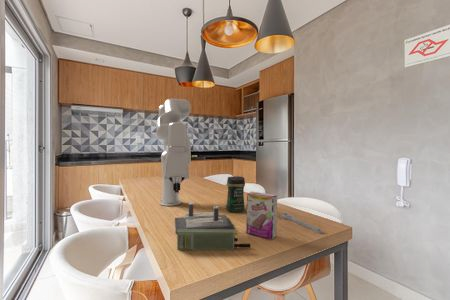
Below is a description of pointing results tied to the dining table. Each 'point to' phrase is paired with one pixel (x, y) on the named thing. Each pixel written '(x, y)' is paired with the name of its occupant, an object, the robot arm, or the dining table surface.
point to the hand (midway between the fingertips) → (176, 192)
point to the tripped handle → (190, 209)
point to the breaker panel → (203, 222)
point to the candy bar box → (261, 214)
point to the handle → (216, 213)
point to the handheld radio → (208, 239)
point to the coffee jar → (235, 194)
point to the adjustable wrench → (300, 222)
